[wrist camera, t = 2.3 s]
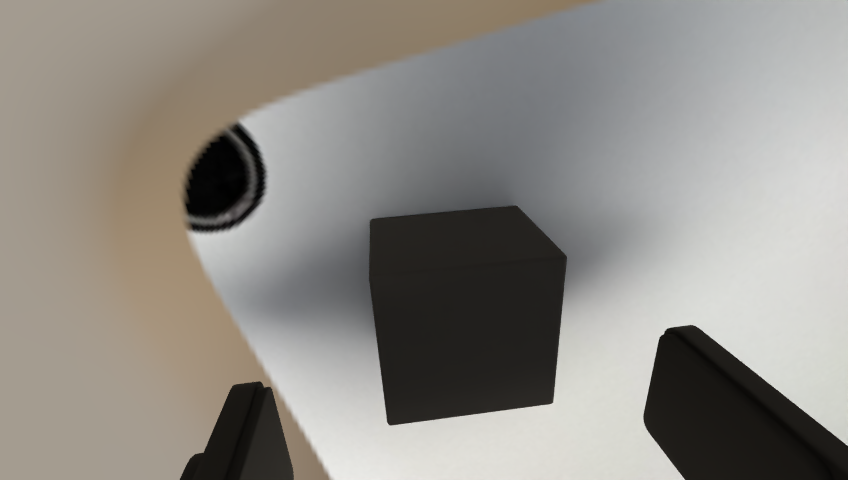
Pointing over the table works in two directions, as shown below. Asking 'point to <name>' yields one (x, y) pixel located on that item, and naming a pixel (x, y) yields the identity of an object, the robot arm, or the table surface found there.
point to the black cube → (465, 312)
